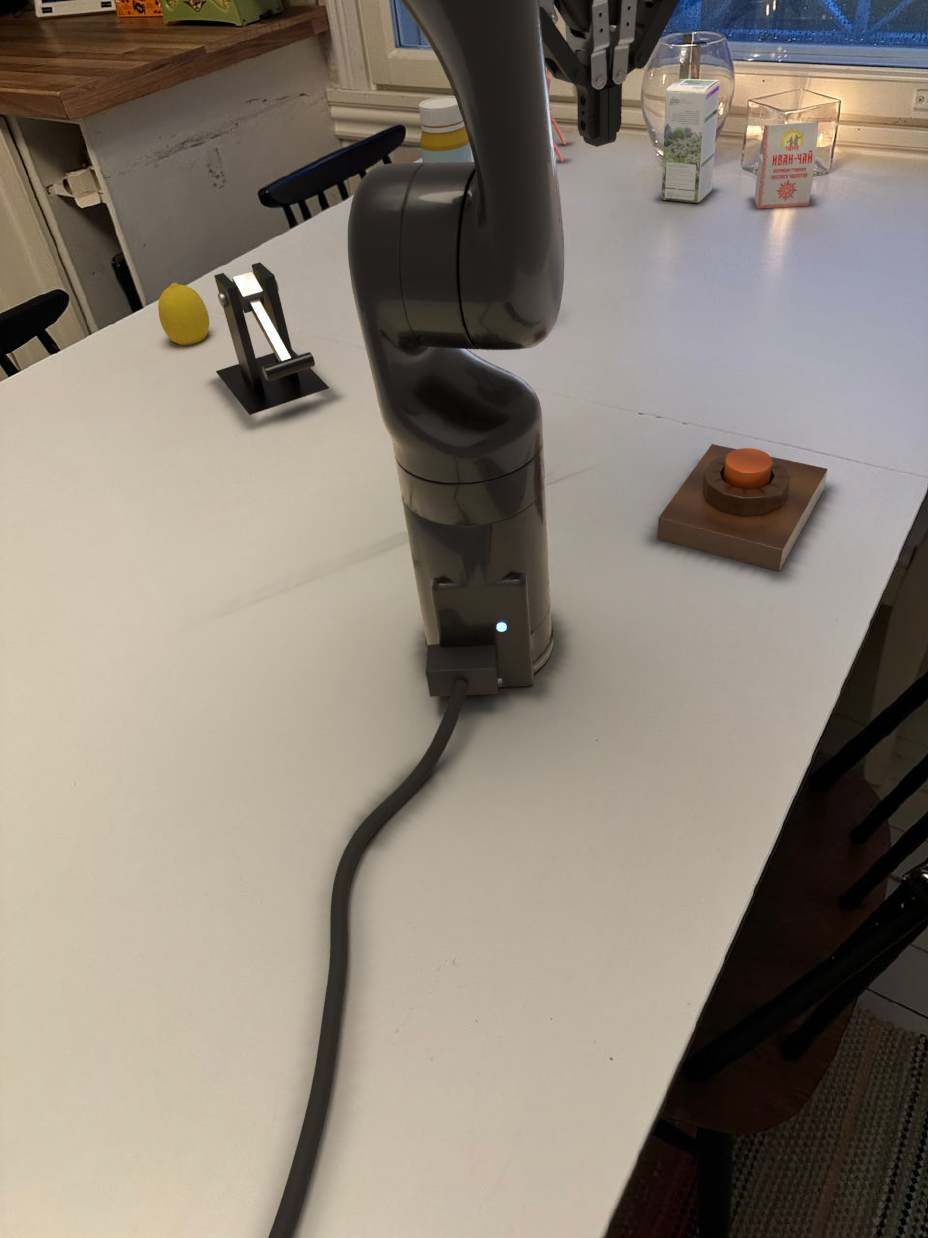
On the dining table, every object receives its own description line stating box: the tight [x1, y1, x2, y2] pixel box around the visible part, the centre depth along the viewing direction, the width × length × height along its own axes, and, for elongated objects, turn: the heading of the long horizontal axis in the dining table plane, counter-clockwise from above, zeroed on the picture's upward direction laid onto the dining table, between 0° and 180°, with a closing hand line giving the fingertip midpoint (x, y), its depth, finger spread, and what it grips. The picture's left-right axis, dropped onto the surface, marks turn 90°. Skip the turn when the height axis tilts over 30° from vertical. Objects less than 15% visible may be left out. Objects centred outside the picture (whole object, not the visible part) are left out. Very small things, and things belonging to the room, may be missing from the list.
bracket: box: [213, 261, 330, 416], centre depth 97 cm, size 12×9×13 cm
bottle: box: [418, 95, 473, 163], centre depth 132 cm, size 7×7×15 cm
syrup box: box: [661, 78, 721, 204], centre depth 129 cm, size 6×6×14 cm
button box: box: [656, 443, 828, 572], centre depth 76 cm, size 12×10×4 cm
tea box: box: [753, 121, 819, 210], centre depth 125 cm, size 4×7×10 cm, turn 84°
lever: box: [231, 270, 316, 381], centre depth 93 cm, size 12×5×2 cm, turn 29°
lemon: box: [157, 282, 210, 346], centre depth 109 cm, size 6×6×8 cm
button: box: [724, 447, 772, 490], centre depth 74 cm, size 4×4×2 cm
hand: (599, 141), depth 67 cm, fingers closed
